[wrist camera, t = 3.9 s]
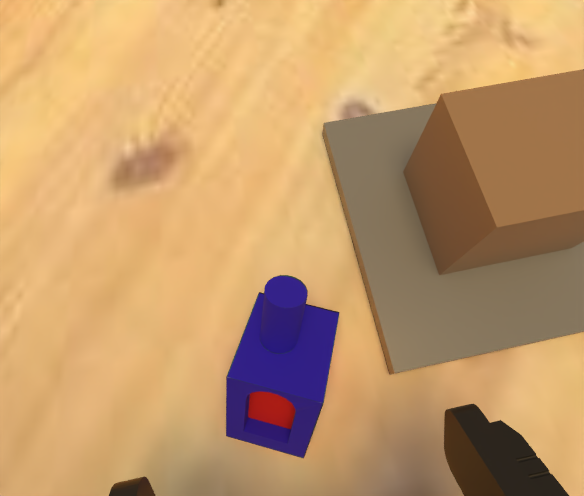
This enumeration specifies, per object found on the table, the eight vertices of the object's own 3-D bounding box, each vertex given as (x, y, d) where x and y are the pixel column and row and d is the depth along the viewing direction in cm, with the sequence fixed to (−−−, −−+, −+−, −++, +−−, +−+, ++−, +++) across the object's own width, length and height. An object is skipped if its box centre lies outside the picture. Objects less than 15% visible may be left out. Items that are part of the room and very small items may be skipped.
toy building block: (319, 374, 21) (353, 266, 15) (303, 459, 18) (338, 361, 12) (253, 357, 21) (263, 245, 16) (225, 436, 18) (226, 332, 13)
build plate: (389, 374, 19) (440, 362, 13) (322, 133, 24) (333, 34, 17) (658, 315, 20) (834, 275, 14) (542, 95, 25) (631, -13, 18)
